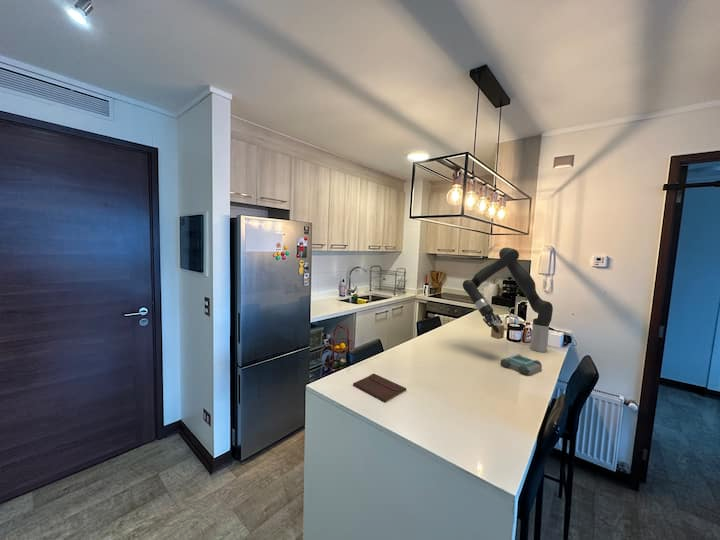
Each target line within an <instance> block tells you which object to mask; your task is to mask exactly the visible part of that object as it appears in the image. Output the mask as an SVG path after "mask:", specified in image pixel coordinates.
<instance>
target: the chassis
mask: <svg viewBox="0 0 720 540" xmlns="http://www.w3.org/2000/svg"><path fill="white" fill-rule="evenodd" d="M500 366H502V368H508V369H511V370H512V371H516V372H518V373H519V374H521V375H523V376H524V375H526V376H528V377H530V376H532V375H535V374H536V373H537V374H538V373H539V372H541V371H542V370H543V369H542V367H543V365H542V363H541V362H540V361H539V360H537V359H536V360H535V359H531V358H528V357H526V356H523V355H521V354H519V353H517V354H515V355H510V356H507V357H505V358H502V359H500Z"/></svg>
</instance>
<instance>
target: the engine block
mask: <svg viewBox="0 0 720 540" xmlns="http://www.w3.org/2000/svg"><path fill="white" fill-rule="evenodd" d="M495 326H496V327H497V328H498V329H499V332H498V333H496V332H495V330H494V329H493V328H492V327H491V332H490V337H491V338H492V339H493V338H494V339H496V340H500V339H504V338H505V337H504V336H505V335H504V334H505V330H504V329H505V324H503V323H502V324H499V323H495Z"/></svg>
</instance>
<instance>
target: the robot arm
mask: <svg viewBox="0 0 720 540" xmlns="http://www.w3.org/2000/svg"><path fill="white" fill-rule="evenodd" d="M498 256H499V259H498V260H496V261H495V262H493V263H491V264H488V265H486V266H484V267H483V268H481V269H480V270H479V271H478V272H476V273H475V274H474V276H473V277H472V279H465V280H464V281H463V282H462V289H464V291H465V292H466V293H467V295H468V296H469V298H470V300H471V301H472V302H473V304H474V306H475V308H476V310H477V311H478V312H479V313H480V315H481V317H483V318H482V321H483V322H484V323H485V324H486V326H488V327H489V328H491V329H492V328H493V329H494V330H495V332H496V333H498V332H499V329H498V328H497V327H496V326H495V323H499V324H503V321H502V319H501V317H500V315H499V314H495V313H494V309H493V307H492V306H491V305H490V303H489V302H488V301H487V299H485V297H484V295H483V294H482V293H481V292H480V291H479V289H478V288H479V287H480V286H481V285H482V284H483V283H484V282H486V281H487V280H489V279H490V278H491V277H492V276H494V275H495V274H496V273H498V272H500V271H501V270H503V269H505V268H506V267H507V269H508V270H509V272H510V274H511V276H512V277H513V279H514V281H515V282H516V284H517V285H518V287H519V289H520V290H521V292H522V293H523V295H524V296H525V298H526V299H527V301H528V303H529V305H530V307H531V310H532V311H534V312H535V313H537V318H534V319H533V320H532V325H531V326H532V330H531V337H530V339H531V340H530V350H532V351H534V352H540V353H546V352H548V350H547V349H548V344H549V343H548V340H549V329H550V323H551V322H552V317H553V311H554V307H553V304H552V303H551V302H550V301H548V300H547V301H546V300H543V299H542V298H541V297H540V296H539V294H538V292H537V291H536V289H537V287H536V282H535V280H534V279H533V277H532V275H531V274H530V273H529V272H528V270H526V268H524V267H523V266H522V265H521V264H520V263H519V261H518V260H519V257H520V253H519V251H518V250H517V249H515V248H512V247H502V248H501V249H500V250H499V253H498ZM504 331H505V328H504Z"/></svg>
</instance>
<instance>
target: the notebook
mask: <svg viewBox="0 0 720 540" xmlns="http://www.w3.org/2000/svg"><path fill="white" fill-rule="evenodd" d="M352 386H353V387H355V388H357V389H359V390H360V391H362V392H364V393H366V394H368V395H370V396H372V397H374V398H376V399H377V400H379V401H381V402H383V403H385V404H386V403H387V402H390V400H393V399H394V398H396V397H397V396H400V395H401V394H403V393H405V392H407V387H405V386H403V385H400V384H398V383H395V382H393V381H391V380H389V379H387V378H385V377H383V376H380V375H379V374H376V373H372V374H370V375H368V376H366V377H363V378H362V379H360V380H357V381H356V382H353V383H352Z"/></svg>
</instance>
